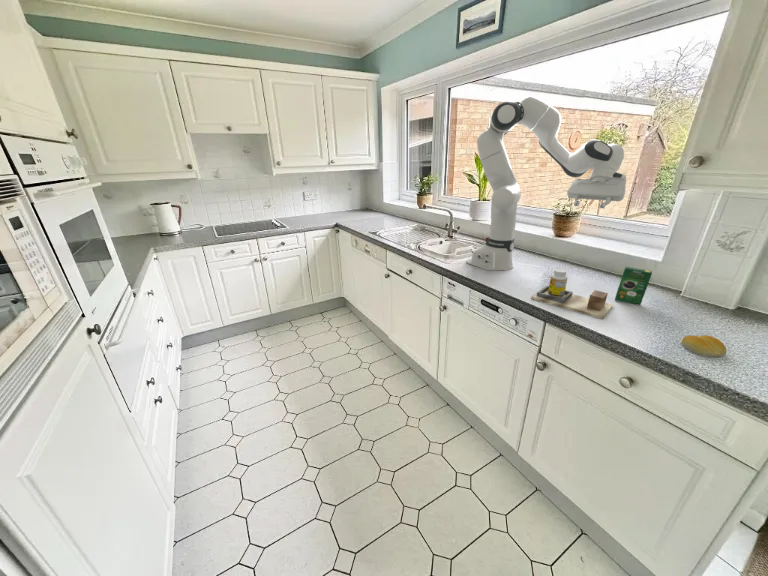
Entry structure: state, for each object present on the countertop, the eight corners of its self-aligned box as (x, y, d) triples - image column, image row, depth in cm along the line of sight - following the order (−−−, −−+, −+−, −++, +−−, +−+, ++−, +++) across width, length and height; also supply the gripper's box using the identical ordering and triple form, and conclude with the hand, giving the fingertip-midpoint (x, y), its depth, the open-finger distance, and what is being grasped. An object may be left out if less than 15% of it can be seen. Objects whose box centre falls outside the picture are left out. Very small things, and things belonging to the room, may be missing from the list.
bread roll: (673, 341, 94) (678, 329, 93) (706, 343, 93) (712, 331, 92) (695, 358, 87) (700, 345, 85) (732, 359, 86) (738, 346, 84)
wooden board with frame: (531, 298, 123) (533, 284, 120) (544, 289, 131) (546, 275, 129) (602, 319, 107) (607, 303, 104) (612, 306, 115) (617, 291, 113)
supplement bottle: (548, 291, 126) (552, 267, 122) (563, 293, 124) (569, 269, 120) (547, 296, 122) (551, 271, 118) (563, 299, 119) (568, 274, 115)
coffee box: (641, 303, 117) (652, 269, 112) (641, 306, 115) (652, 272, 110) (615, 298, 122) (624, 265, 117) (614, 300, 120) (624, 268, 115)
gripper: (573, 173, 137) (560, 199, 135) (630, 175, 124) (618, 203, 121) (574, 183, 142) (562, 208, 139) (630, 186, 128) (617, 213, 126)
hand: (588, 206), depth 130 cm, fingers open, 8 cm apart
